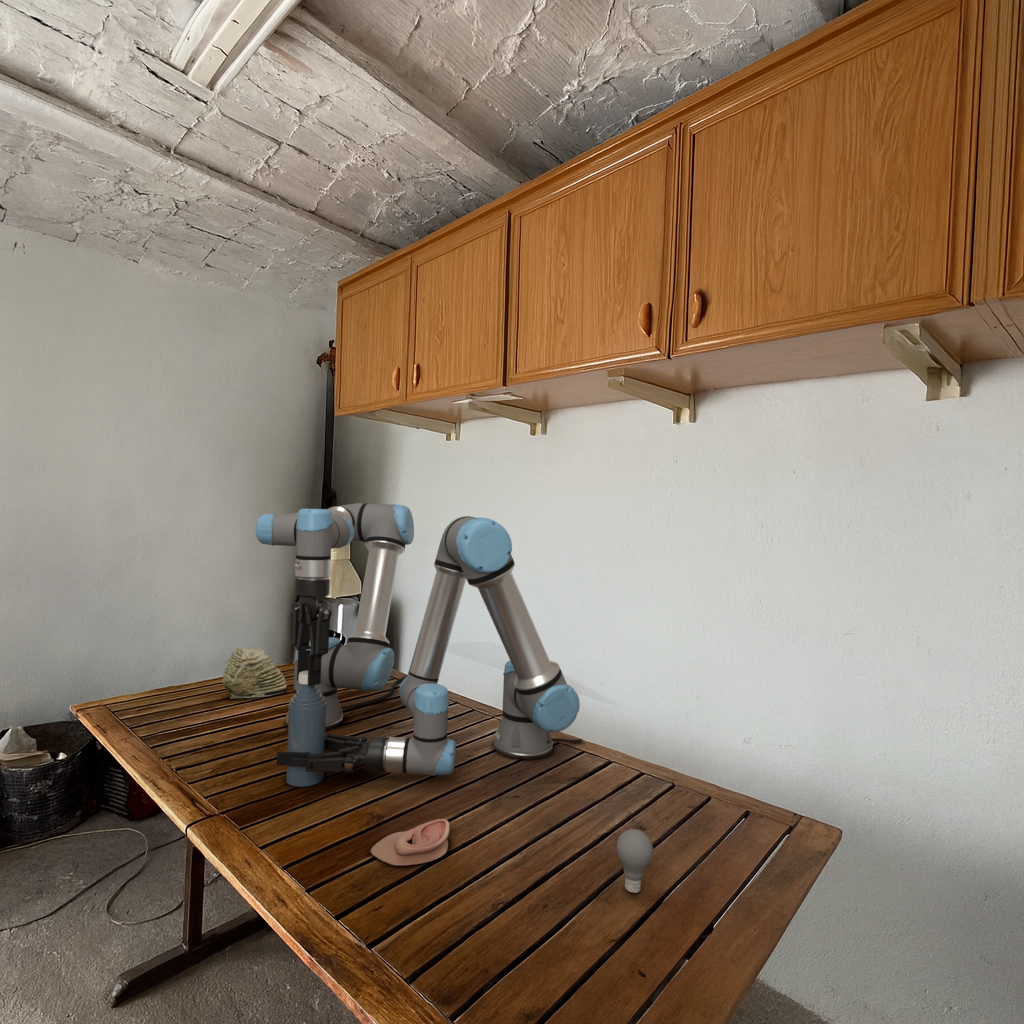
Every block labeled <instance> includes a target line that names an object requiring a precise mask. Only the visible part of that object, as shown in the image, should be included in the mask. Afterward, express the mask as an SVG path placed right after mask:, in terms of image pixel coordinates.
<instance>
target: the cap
mask: <svg viewBox="0 0 1024 1024" xmlns="http://www.w3.org/2000/svg"><path fill="white" fill-rule="evenodd" d="M299 683H300V684H308V671H302V672H300V673H299Z"/></svg>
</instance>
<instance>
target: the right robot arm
mask: <svg viewBox="0 0 1024 1024" xmlns="http://www.w3.org/2000/svg"><path fill="white" fill-rule="evenodd" d="M512 551H513V543H512V539H511V536H510V534H509V532H508V530H507V529H506V528H505V527H504V526H503V525H502V524H500V523H499V522H497V521H496V520H493V519H491V518H488V517H475V516H470V515H467V516H465V515H464V516H460V517H457V518H455V519H454V520H452V521H450V523H448V524H447V526H446V527H445V528H444V530H443V533H442V535H441V538H440V542H439V545H438V549H437V552H436V556H435V559H434V563H433V566H434V568H435V570H436V571H435V575H434V579H433V583H432V585H431V586H432V587H431V589H430V594H429V597H428V600H427V605H426V607H425V612H424V616H423V619H422V623H421V626H420V630H419V633H418V637H417V641H416V643H415V648H414V652H413V655H412V658H411V662H410V666H409V669H408V673H407V675H406V676H407V677H406V678H405V679H404V680H401V683H400V685H399V689H398V692H399V697H400V700H401V702H402V703H403V706H405V707H406V708H407V710H408V712H409V713H410V714H411V716H412V718H413V732H412V733H413V734H412V737H405V736H403V737H401V736H398V737H397V736H390V737H389V738H388V737H386V736H370V737H369V739H368V737H367V736H352V735H345V734H334V733H327V734H325V751H326V750H327V751H329V752H325V753H321V754H313V755H310V753H309V752H307V753H303V752H287V751H282V750H281V751H280V750H279V751H277V752H276V766H286V767H287V766H306V771H307V772H324V773H325V772H347V773H353V772H354V771H355V768H354V767H357V766H364V767H365V770H366V771H367V773H375V774H376V773H380V774H382V773H383V772H384V771H385V773H387V774H396V776H399V775H401V774H403V775H404V774H409V775H422V776H423V775H424V776H432V777H434V776H449V775H452V774H453V772H454V769H455V765H456V756H457V755H456V754H457V753H456V752H457V748H456V747H457V744H456V741H455V739H451V738H448V719H449V706H450V701H449V689H448V688H447V687H446V686H445V685H443V684H439V683H438V682H439V678H440V674H441V671H442V667H443V664H444V660H445V657H446V653H447V649H448V646H449V644H450V643H449V642H450V639H451V635H452V631H453V629H454V625H455V621H456V618H457V614H458V611H459V607H460V603H461V599H462V596H463V592H464V589H465V585H466V581H467V583H468V585H469V586H471V587H474V588H477V589H478V591H479V594H480V596H481V599H482V601H483V603H484V605H485V608H486V609H487V612H488V614H489V617H490V619H491V621H492V623H493V626H494V627H495V629H496V632H497V634H498V636H499V639H500V642H501V644H502V645H503V648H504V649H505V652H506V654H507V657H508V659H509V660H508V661H506V663H505V664H504V669H503V674H502V675H503V689H502V712H501V713H502V714H501V715H502V716H501V719H500V722H499V725H498V727H497V730H496V731H495V733H494V739H493V741H494V742H493V748H494V751H496V752H497V753H498V754H499V755H502V756H505V757H507V758H512V759H518V760H537V759H542V758H544V757H547V756H549V755H551V754H552V752H553V745H554V743H553V742H555V743H556V742H558V743H569V744H570V743H571V744H572V743H573V744H575V743H576V744H578V743H582V742H583V739H582V738H578V739H577V738H576V739H572V738H571V739H570V738H560V737H559V738H557V737H552V734H551V733H558V732H563V731H564V730H566V729H568V728H569V727H570V726H571V725H572V724H573V723H574V722H575V720H576V719H577V716H578V713H580V712H579V711H580V708H581V707H580V705H581V704H580V703H581V702H580V697H579V694H578V693H577V691H576V690H575V689H574V687H572V685H569V684H568V683H567V681H566V679H565V676H564V673H563V672H562V669H561V667H560V664H559V663H558V662H556V661H553V660H550V657H549V655H548V653H547V651H546V648H545V646H544V644H543V641H542V638H541V637H540V634H539V632H538V630H537V628H536V625H535V623H534V620H533V619H532V618H533V617H532V616H531V614H530V611H529V610H528V607H527V605H526V602H525V600H524V598H523V595H522V593H521V591H520V588H519V585H518V584H517V581H516V579H515V577H514V575H513V571H514V569H515V565H516V563H515V561H514V558H513V555H512Z"/></svg>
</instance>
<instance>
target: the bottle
mask: <svg viewBox="0 0 1024 1024" xmlns="http://www.w3.org/2000/svg"><path fill="white" fill-rule="evenodd" d="M288 707H289V708H288V710H289V716H288V727H287V743H286V744H287V745H286V747H287V748H286V752H303V753H307V752H309V753H310V755H313V754H321V753H326V752H325V751H326V750H325V737H326V730H325V727H326V700H325V697H324V696H323V694H322V693H321V692H320V690H319V689H317V686H316V685H313V686H308V684H302V686H301V687H300V688H299V690H298V691H297V692H296V694H294V693H293V695H292V697H291V698H290V701H289V703H288ZM285 769H286V771H285V773H286V774H285V782H286V783H287V784H288V785H289V786H293V787H298V788H299V787H301V788H303V787H311V786H314V785H317V784H319V783H321V782H322V781H323V780H324V777H325V776H324V775H325V772H307V771H306V766H286V768H285Z"/></svg>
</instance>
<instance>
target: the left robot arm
mask: <svg viewBox="0 0 1024 1024" xmlns="http://www.w3.org/2000/svg"><path fill="white" fill-rule="evenodd" d="M255 536H256V539H257V541H258V543H260V544H262V545H268V546H271V547H272V546H273V547H274V546H283V547H287V546H288V547H295V564H294V568H295V570H294V575H295V577H297V578H295V580H294V589H293V593H294V595H295V596H296V597H299V598H298V601H297V602H292V603H291V608H292V647H295V652H294V653H295V654H294V659H293V661H294V672H293V695H294V694H296V692H297V691H298V690H299V688H300V687H301V686H302V684H300V683H299V673H300V672H302V671H308V686H313V685H316V686H317V689H319V690H320V692H321V693H322V694H323V696H324V697H325V700H326V727H325V731H329V730H332V729H335V728H337V727H339V726H340V725H342V723H343V722H344V714H343V710H344V709H351V708H356V707H359V706H365V705H367V704H371V703H373V702H377V701H381V700H383V699H386V698H388V697H389V696H391V695H392V694H393V691H394V689H395V688H396V685H397V684H398V683H399V682H402V681H403V680H404V679H405V678H406V677H407V675H405V676H403V677H400V678H397V679H395V681H394V682H393V684H392V686H391V688H390V690H389V692H387V693H386V694H384V695H382V696H379V697H375V698H372V699H369V700H368V699H367V700H365V701H364V700H363V701H361V702H356V703H352V704H347V705H341V702H340V699H339V695H338V689H345V690H357V691H363V692H368V691H370V692H377V691H381V690H382V689H384V687H385V686H386V685H387V684H388V682H389V681H390V678H391V675H392V673H393V670H394V666H395V665H394V664H395V652H394V650H393V649H392V648H391V647H390V645H391V644H390V641H389V639H388V638H387V637H386V634H387V628H388V622H389V616H390V610H391V603H392V598H393V591H394V587H395V580H396V573H397V567H398V561H399V556H400V555H402V554H403V553H405V550H406V546H409V545H411V544H413V541H414V539H415V538H414V537H415V523H414V516H413V514H412V511H411V509H410V508H409V507H408V506H406V505H403V504H396V503H391V504H389V503H366V502H359V503H358V502H357V503H350V504H349V503H348V504H343V505H338V506H337V505H336V506H331V507H329V508H301V509H298V512H293V513H264V514H262V515H260V516H259V517H258V519H257V521H256V524H255ZM352 541H353V542H360V543H361V542H363V543H364V546H365V548H366V549H367V550H368V555H367V562H366V567H365V573H364V577H363V583H362V589H361V595H360V600H359V606H358V610H357V617H356V621H355V622H356V623H355V628H354V632H353V633H352V634H350V635H349V636H348V637H347V641H346V644H341V641H340V639H339V638H338V637H334V636H330V627H331V626H330V625H331V617H332V615H333V611H332V610H331V609H327V608H326V604H325V597H328V596H329V595H330V592H331V591H330V590H331V589H330V588H331V580H330V579H329V577H331V568H332V567H331V566H332V565H331V563H332V550H333V549H341V548H343V547H345V546H348V545H349V544H350V543H351V542H352ZM288 716H289V706H288V711H287V713H286V715H285V726H286V728H288Z"/></svg>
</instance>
